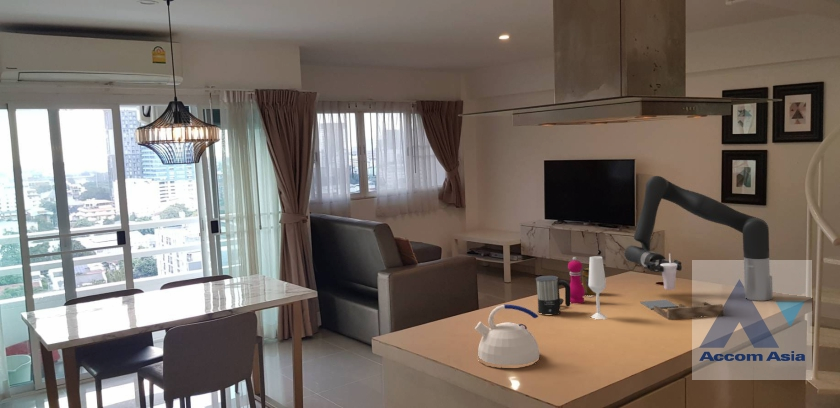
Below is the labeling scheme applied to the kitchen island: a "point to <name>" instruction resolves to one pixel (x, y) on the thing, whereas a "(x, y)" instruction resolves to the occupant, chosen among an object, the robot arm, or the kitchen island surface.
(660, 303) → the slate mat
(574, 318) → the kitchen island surface
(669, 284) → the smoothie
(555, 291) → the milk frother
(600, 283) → the champagne flute
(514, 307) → the kettle
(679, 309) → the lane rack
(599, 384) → the kitchen island surface
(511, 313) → the kitchen island surface
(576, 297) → the pepper mill
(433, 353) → the kitchen island surface
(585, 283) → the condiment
